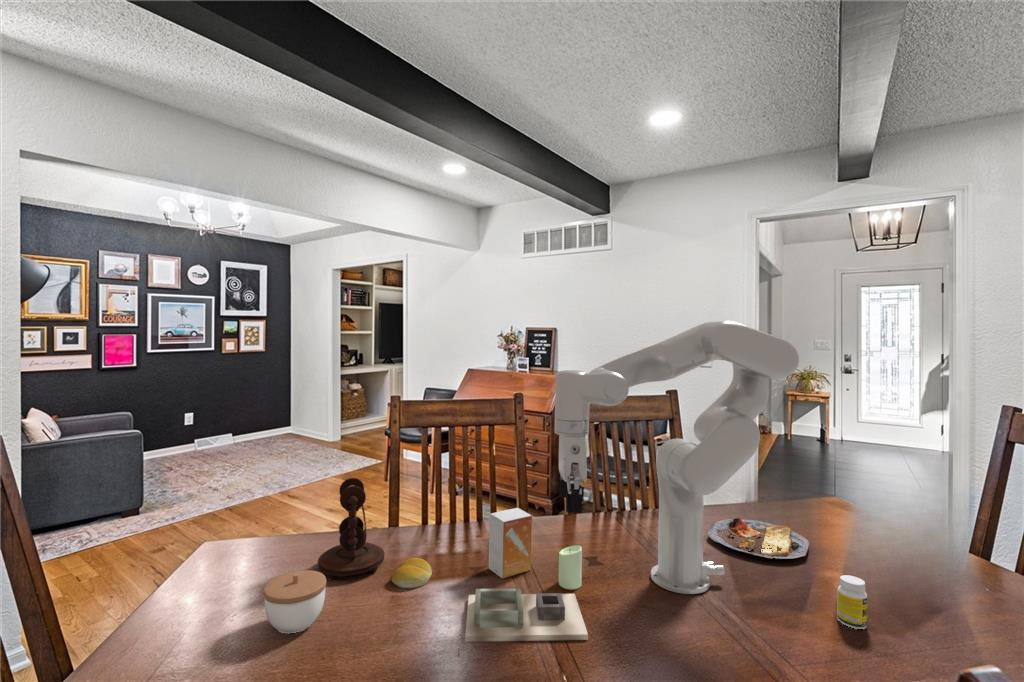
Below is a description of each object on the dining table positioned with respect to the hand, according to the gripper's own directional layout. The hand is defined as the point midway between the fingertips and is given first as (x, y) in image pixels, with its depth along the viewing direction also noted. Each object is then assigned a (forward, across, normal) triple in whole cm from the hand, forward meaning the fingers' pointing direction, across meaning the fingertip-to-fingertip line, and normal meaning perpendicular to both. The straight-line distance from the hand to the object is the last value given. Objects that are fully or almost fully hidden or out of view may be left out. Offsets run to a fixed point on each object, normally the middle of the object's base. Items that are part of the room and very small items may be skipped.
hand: (569, 504), depth 108 cm
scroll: (+18, +9, +50) cm, 54 cm away
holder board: (+18, -13, +11) cm, 24 cm away
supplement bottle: (+17, -16, -52) cm, 57 cm away
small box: (+18, +7, +13) cm, 23 cm away
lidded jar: (+18, -14, +54) cm, 58 cm away
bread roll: (+18, +3, +35) cm, 39 cm away
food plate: (+18, +21, -54) cm, 61 cm away
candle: (+18, 0, 0) cm, 18 cm away
